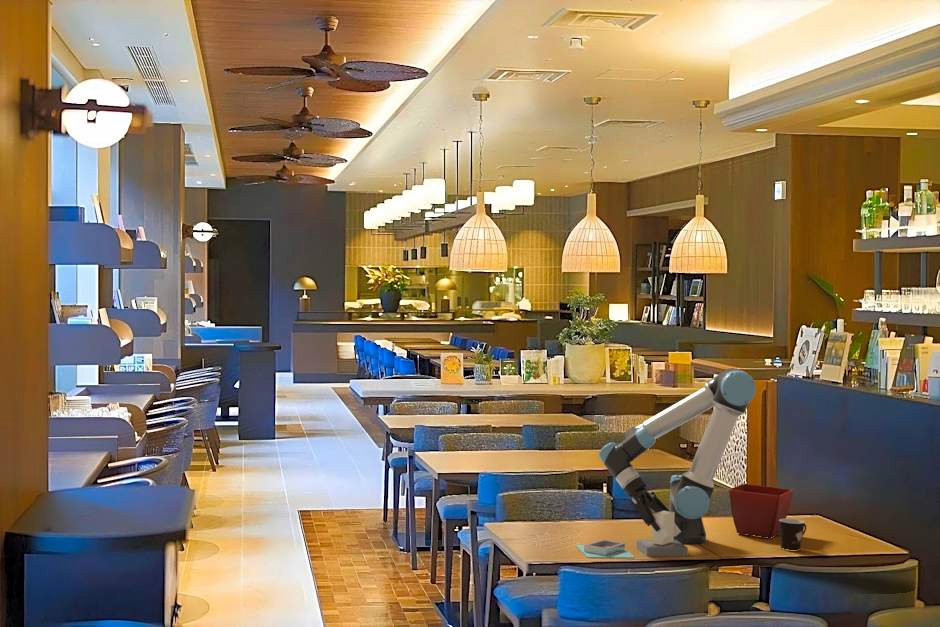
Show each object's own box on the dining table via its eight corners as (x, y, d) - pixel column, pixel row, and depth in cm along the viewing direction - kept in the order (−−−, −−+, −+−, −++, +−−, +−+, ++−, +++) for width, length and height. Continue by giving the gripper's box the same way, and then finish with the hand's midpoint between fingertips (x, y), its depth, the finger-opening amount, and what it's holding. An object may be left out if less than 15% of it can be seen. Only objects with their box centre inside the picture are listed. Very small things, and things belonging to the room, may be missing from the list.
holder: (583, 551, 401) (584, 544, 401) (602, 546, 411) (603, 539, 411) (606, 555, 396) (606, 549, 396) (624, 550, 406) (625, 543, 406)
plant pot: (792, 533, 447) (794, 489, 447) (777, 542, 431) (779, 495, 430) (741, 527, 457) (743, 483, 456) (725, 535, 440) (727, 489, 440)
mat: (575, 545, 411) (575, 544, 411) (620, 546, 413) (620, 545, 413) (587, 557, 393) (587, 556, 393) (634, 558, 396) (634, 557, 396)
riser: (636, 548, 411) (637, 539, 411) (676, 548, 413) (676, 539, 413) (646, 556, 399) (647, 547, 399) (687, 556, 401) (687, 547, 401)
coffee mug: (784, 552, 414) (785, 523, 414) (773, 546, 422) (774, 518, 422) (815, 552, 416) (817, 523, 416) (804, 546, 425) (805, 518, 424)
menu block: (651, 543, 404) (652, 513, 404) (663, 539, 411) (664, 510, 410) (662, 545, 402) (663, 515, 401) (673, 541, 408) (674, 512, 408)
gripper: (623, 479, 403) (664, 533, 394) (653, 472, 420) (693, 525, 411) (609, 492, 407) (650, 547, 397) (639, 485, 423) (678, 538, 414)
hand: (672, 536), depth 404 cm, fingers closed on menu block, 8 cm apart
